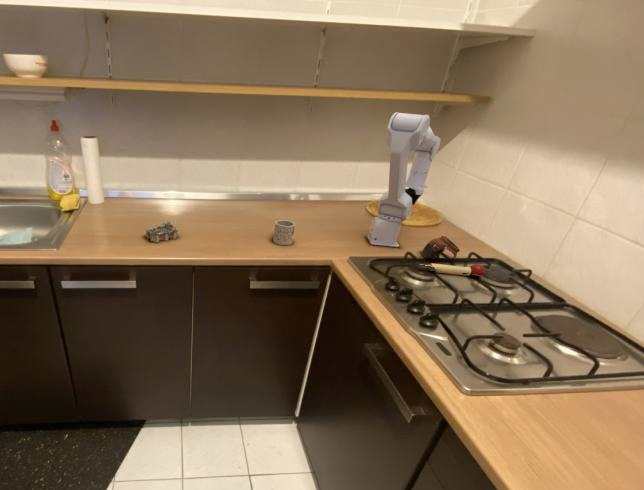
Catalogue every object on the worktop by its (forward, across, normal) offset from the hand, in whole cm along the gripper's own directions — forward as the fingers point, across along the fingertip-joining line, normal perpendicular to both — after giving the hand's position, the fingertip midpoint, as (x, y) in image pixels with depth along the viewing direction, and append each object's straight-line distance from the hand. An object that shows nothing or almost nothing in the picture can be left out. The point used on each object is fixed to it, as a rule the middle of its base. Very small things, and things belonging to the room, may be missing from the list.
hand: (407, 209), depth 142 cm
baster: (+9, -34, -6) cm, 35 cm away
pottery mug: (+10, -22, -6) cm, 25 cm away
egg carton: (+10, -30, +86) cm, 92 cm away
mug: (+10, -20, +45) cm, 50 cm away
